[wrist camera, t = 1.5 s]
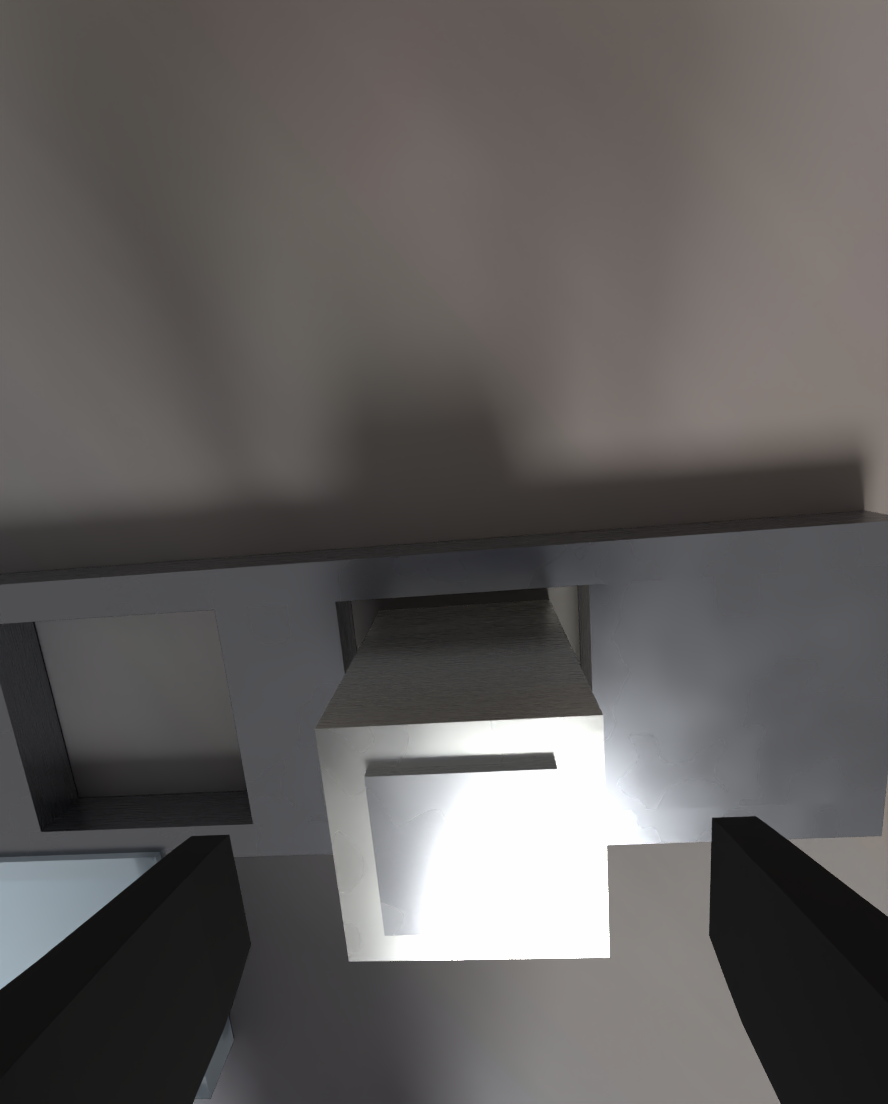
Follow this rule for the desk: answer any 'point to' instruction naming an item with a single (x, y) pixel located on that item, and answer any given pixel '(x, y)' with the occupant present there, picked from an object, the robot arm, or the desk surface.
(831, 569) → the rail
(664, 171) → the desk surface
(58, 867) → the parts tray
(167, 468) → the desk surface
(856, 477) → the desk surface
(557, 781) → the grey rectangular block
